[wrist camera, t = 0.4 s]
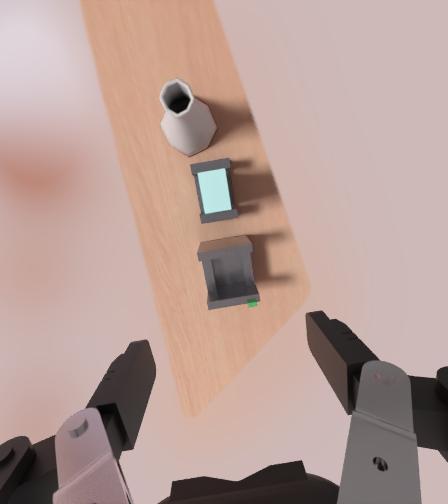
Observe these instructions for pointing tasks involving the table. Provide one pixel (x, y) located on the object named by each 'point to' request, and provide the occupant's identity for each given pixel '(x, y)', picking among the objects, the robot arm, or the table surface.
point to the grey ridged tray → (226, 164)
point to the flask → (185, 119)
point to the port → (228, 272)
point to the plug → (214, 190)
